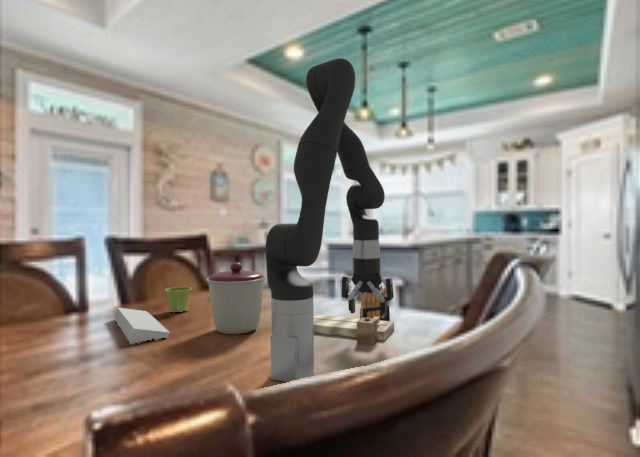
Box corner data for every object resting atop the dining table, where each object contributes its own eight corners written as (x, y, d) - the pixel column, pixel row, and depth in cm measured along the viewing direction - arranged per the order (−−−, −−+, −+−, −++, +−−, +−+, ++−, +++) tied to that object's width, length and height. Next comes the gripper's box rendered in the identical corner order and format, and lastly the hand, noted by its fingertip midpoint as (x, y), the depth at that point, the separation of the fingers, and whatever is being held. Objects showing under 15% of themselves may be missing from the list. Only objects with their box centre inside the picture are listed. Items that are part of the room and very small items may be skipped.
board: (394, 329, 126) (394, 321, 126) (384, 340, 115) (384, 331, 115) (311, 321, 137) (311, 314, 137) (294, 330, 126) (294, 322, 126)
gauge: (372, 345, 111) (372, 320, 111) (356, 343, 112) (356, 319, 112) (384, 333, 122) (384, 311, 122) (370, 331, 124) (369, 310, 124)
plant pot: (164, 310, 157) (164, 287, 157) (190, 307, 161) (190, 285, 161) (166, 315, 148) (166, 291, 148) (193, 312, 152) (193, 289, 152)
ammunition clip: (362, 324, 132) (362, 287, 132) (359, 323, 134) (359, 286, 134) (390, 320, 137) (389, 284, 137) (386, 319, 139) (386, 284, 138)
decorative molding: (143, 324, 148) (113, 321, 142) (146, 311, 148) (117, 307, 143) (165, 348, 119) (129, 345, 114) (170, 332, 120) (133, 328, 114)
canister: (235, 320, 140) (234, 258, 139) (278, 327, 130) (277, 261, 130) (194, 333, 124) (192, 264, 124) (239, 342, 115) (238, 267, 114)
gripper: (337, 256, 113) (338, 315, 113) (388, 258, 107) (389, 319, 108) (346, 254, 120) (347, 309, 120) (395, 255, 114) (396, 312, 115)
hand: (367, 314), depth 114 cm, fingers open, 8 cm apart
